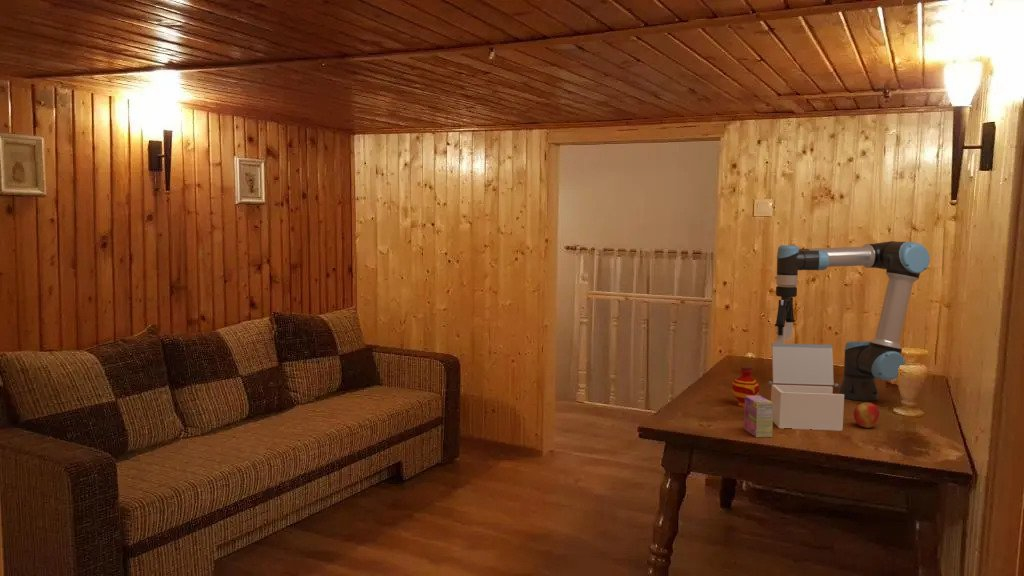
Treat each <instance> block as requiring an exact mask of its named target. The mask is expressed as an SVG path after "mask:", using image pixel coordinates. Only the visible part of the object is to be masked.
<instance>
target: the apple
mask: <svg viewBox="0 0 1024 576" xmlns="http://www.w3.org/2000/svg"><path fill="white" fill-rule="evenodd" d="M864 400H865V399H864ZM853 418H854V420H855V422H856V424H858V425H859V426H860V427H862V428H864V429H865V428H866V429H869V428H873V427H874V426H875V425H876V424H877V422H878V420H879V418H880V409H879V408H878V406H877V405H876V404H873V403H872V402H870V401H869V402H868V401H864V402H862V403H860V404H858V405H856V406H855V408H854V409H853Z"/></svg>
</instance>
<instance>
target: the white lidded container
mask: <svg viewBox="0 0 1024 576" xmlns="http://www.w3.org/2000/svg"><path fill="white" fill-rule="evenodd" d="M767 385H770V386H771V393H770V401H771V402H773V424H775V425H776V427H777V428H779V429H784V428H792V430H810V429H812V431H813V430H814V431H815V430H816V431H817V430H818V431H840V432H841V431H842V432H843V428H844V427H843V425H844V408H845V407H844V406H845V398H844V394H838V393H833V391H834V388H839V387H840V384H839V383H834V385H833V386H829V385H800V384H773V380H771V381H769V380H768V381H767Z"/></svg>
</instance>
